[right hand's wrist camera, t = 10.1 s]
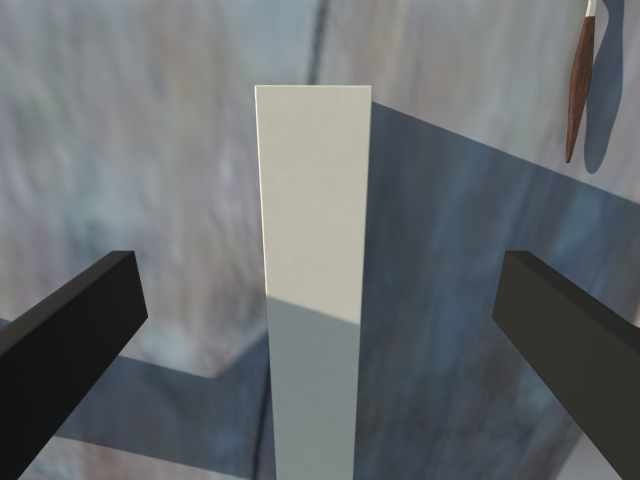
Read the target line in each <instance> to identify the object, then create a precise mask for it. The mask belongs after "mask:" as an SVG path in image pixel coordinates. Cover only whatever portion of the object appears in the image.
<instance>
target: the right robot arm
mask: <svg viewBox="0 0 640 480" xmlns="http://www.w3.org/2000/svg"><path fill="white" fill-rule="evenodd" d="M147 318H148V314H147V309H146V305H145V300H144V295H143V290H142V286H141V281H140V276H139V271H138V267H137V262H136V257H135V253H134V251H111V252H110V253H109V254H107V255H106V256H104V257H103V258H102V259H100V260H99V261H97V262H96V263H94V264H93V265H92V266H90V267H89V268H87V269H86V270H85V271H83V272H82V273H80V274H79V275H78V276H76V277H75V278H73V279H72V280H70V281H69V282H68V283H66V284H65V285H63V286H62V287H61V288H59V289H58V290H56V291H55V292H54V293H52V294H51V295H49V296H48V297H47V298H45V299H44V300H42V301H41V302H39V303H38V304H37V305H35V306H34V307H32V308H31V309H30V310H28V311H27V312H25V313H24V314H23V315H21V316H20V317H18V318H17V319H16V320H14V321H13V322H11V323H10V324H8V325H7V326H6V327H4V328H3V329H0V480H18V478H19V477H20V476H21V475H22V473H23V472H24V471H25V470H26V468H27V467H28V466H29V465H30V463H31V462H32V461H33V460H34V458H35V457H36V456H37V455H38V454H39V452H40V451H41V450H42V449H43V447H44V446H45V445H46V444H47V442H48V441H49V440H50V439H51V437H52V436H53V435H54V434H55V432H56V431H57V430H58V429H59V427H60V426H61V425H62V424H63V422H64V421H65V420H66V419H67V417H68V416H69V415H70V414H71V412H72V411H73V410H74V409H75V408H76V406H77V405H78V404H79V403H80V401H81V400H82V399H83V398H84V396H85V395H86V394H87V393H88V391H89V390H90V389H91V388H92V386H93V385H94V384H95V383H96V381H97V380H98V379H99V378H100V376H101V375H102V374H103V373H104V371H105V370H106V369H107V368H108V366H109V365H110V364H111V363H112V362H113V360H114V359H115V358H116V357H117V355H118V354H119V353H120V352H121V350H122V349H123V348H124V347H125V345H126V344H127V343H128V342H129V340H130V339H131V338H132V337H133V335H134V334H135V333H136V332H137V330H138V329H139V328H140V327H141V325H142V324H143V323H144V322H145V320H146V319H147ZM492 318H493V319H494V320H495V322H496V323H497V324H498V325H499V327H500V328H501V329H502V330H503V332H504V333H505V334H506V335H507V337H508V338H509V339H510V340H511V342H512V343H513V344H514V345H515V347H516V348H517V349H518V350H519V352H520V353H521V354H522V355H523V357H524V358H525V359H526V360H527V362H528V363H529V364H530V365H531V366H532V368H533V369H534V370H535V371H536V373H537V374H538V375H539V376H540V378H541V379H542V380H543V381H544V383H545V384H546V385H547V386H548V388H549V389H550V390H551V391H552V393H553V394H554V395H555V396H556V398H557V399H558V400H559V401H560V403H561V404H562V405H563V406H564V408H565V409H566V410H567V411H568V412H569V414H570V415H571V416H572V417H573V419H574V420H575V421H576V422H577V424H578V425H579V426H580V427H581V429H582V430H583V431H584V432H585V434H586V435H587V436H588V437H589V439H590V440H591V441H592V442H593V444H594V445H595V446H596V447H597V449H598V450H599V451H600V452H601V453H602V455H603V456H604V457H605V458H606V460H607V461H608V462H609V463H610V465H611V466H612V467H613V468H614V470H615V471H616V472H617V473H618V475H619V476H620V477H621V478H622V480H640V328H639V327H637V326H634V325H632V324H630V323H629V322H627V321H626V320H624V319H623V318H622V317H620V316H619V315H617V314H616V313H615V312H613V311H612V310H610V309H609V308H608V307H606V306H605V305H603V304H602V303H601V302H599V301H598V300H596V299H595V298H593V297H592V296H591V295H589V294H588V293H586V292H585V291H584V290H582V289H581V288H579V287H578V286H577V285H575V284H574V283H572V282H571V281H570V280H568V279H567V278H565V277H564V276H562V275H561V274H560V273H558V272H557V271H555V270H554V269H553V268H551V267H550V266H548V265H547V264H546V263H544V262H543V261H541V260H540V259H538V258H537V257H536V256H534V255H533V254H531V253H530V252H529V251H506V253H505V257H504V262H503V267H502V271H501V276H500V281H499V286H498V290H497V295H496V300H495V305H494V309H493V314H492Z"/></svg>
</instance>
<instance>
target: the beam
mask: <svg viewBox="0 0 640 480" xmlns="http://www.w3.org/2000/svg"><path fill="white" fill-rule="evenodd" d="M372 94H373V87H372V86H305V85H256V86H255V100H256V118H257V136H258V154H259V172H260V190H261V208H262V226H263V244H264V262H265V280H266V298H267V316H268V334H269V352H270V370H271V388H272V406H273V424H274V442H275V460H276V478H277V480H353V467H354V448H355V428H356V409H357V389H358V369H359V350H360V330H361V310H362V291H363V271H364V252H365V232H366V212H367V193H368V173H369V153H370V134H371V114H372Z"/></svg>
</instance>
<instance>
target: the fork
mask: <svg viewBox="0 0 640 480" xmlns="http://www.w3.org/2000/svg"><path fill="white" fill-rule="evenodd" d="M596 1H597V0H588V8H587V12H586V16H585V20H584V24H583V28H582V32H581V36H580V40H579V43H578V47H577V51H576V55H575V59H574V63H573V68H572V73H571V79H570V91H569V116H568V130H567V142H566V163H569V162H570V159H571V156H572V153H573V149H574V146H575V142H576V137H577V133H578V129H579V125H580V121H581V117H582V113H583V109H584V105H585V101H586V97H587V93H588V89H589V85H590V80H591V74H592V64H593V48H594V27H595V10H596Z"/></svg>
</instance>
